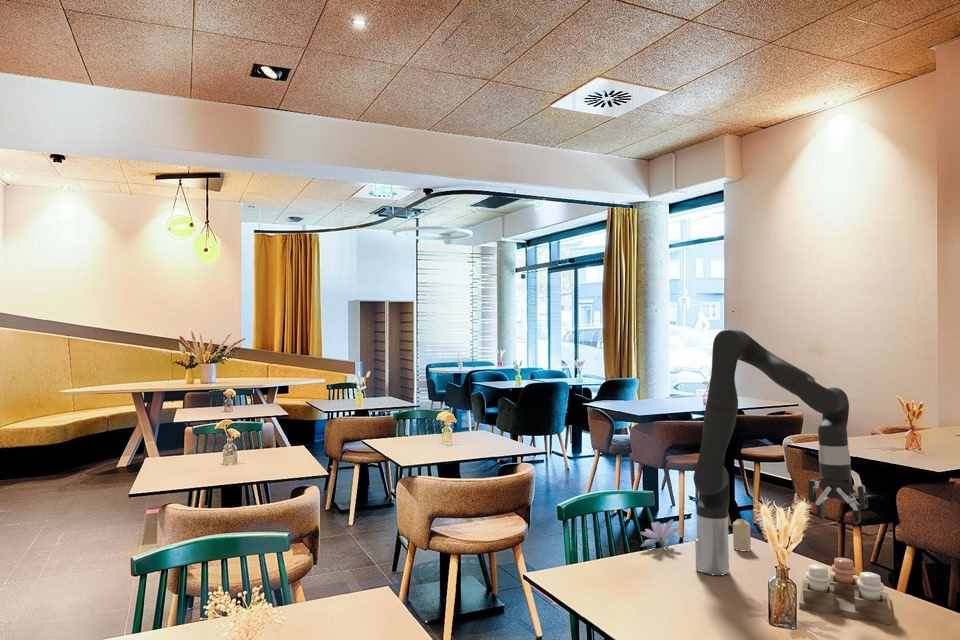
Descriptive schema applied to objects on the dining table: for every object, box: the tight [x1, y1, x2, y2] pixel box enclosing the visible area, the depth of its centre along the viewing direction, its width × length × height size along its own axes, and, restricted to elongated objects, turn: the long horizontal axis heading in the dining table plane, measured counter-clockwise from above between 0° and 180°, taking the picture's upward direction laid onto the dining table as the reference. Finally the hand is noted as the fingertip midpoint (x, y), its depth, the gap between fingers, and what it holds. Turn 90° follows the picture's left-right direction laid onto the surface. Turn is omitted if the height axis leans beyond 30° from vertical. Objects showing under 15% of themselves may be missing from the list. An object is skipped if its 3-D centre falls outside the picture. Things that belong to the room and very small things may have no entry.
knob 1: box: [805, 564, 831, 592], centre depth 173 cm, size 6×6×6 cm
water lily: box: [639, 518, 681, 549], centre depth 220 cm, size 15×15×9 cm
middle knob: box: [831, 557, 857, 584], centre depth 179 cm, size 6×6×6 cm
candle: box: [732, 518, 752, 552], centre depth 219 cm, size 6×6×10 cm
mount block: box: [798, 573, 894, 626], centre depth 174 cm, size 21×19×4 cm
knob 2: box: [857, 571, 885, 601], centre depth 168 cm, size 6×6×6 cm
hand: (838, 521), depth 175 cm, fingers open, 8 cm apart
